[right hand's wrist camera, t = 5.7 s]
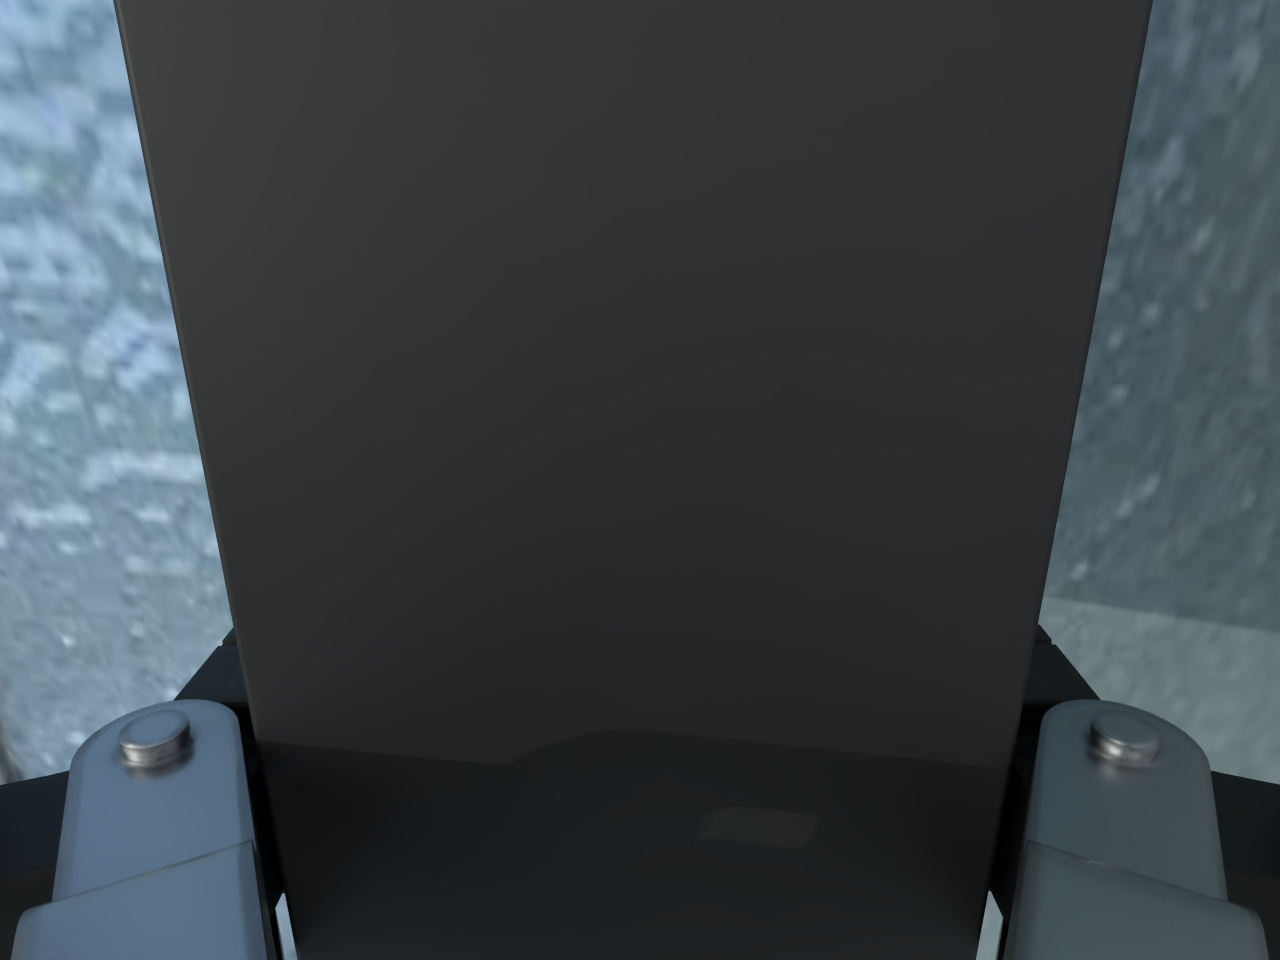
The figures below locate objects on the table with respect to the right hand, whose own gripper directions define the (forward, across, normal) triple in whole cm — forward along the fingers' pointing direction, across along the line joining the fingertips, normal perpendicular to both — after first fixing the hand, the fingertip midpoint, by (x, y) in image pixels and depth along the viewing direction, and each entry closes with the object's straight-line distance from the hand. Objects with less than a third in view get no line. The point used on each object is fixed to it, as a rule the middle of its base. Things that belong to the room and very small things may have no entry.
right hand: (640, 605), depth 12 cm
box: (+8, 0, +9) cm, 12 cm away
